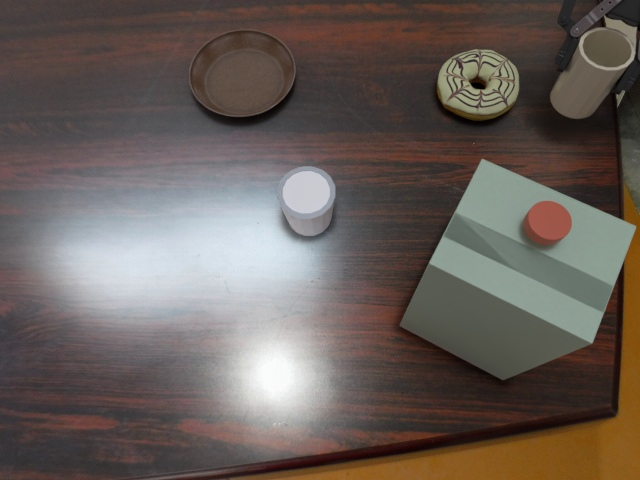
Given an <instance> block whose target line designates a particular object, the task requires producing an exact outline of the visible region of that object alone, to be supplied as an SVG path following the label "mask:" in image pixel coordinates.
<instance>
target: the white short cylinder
mask: <svg viewBox="0 0 640 480" xmlns="http://www.w3.org/2000/svg"><path fill="white" fill-rule="evenodd" d="M276 189H277V190H276V191H277V192H276V193H277V195H276V198H277V201H278V203H279V205H280V207H281V210H282V212H283V214H284V216H285V218H286V220H287V222H288V224H289V226H290V229H292V230H293V231H294V232H295V233H296V234H298V235H301V236H304V237H315V236H317V235H320V234H323V232H324V231H326V229H328V228H329V226H330V223H331V222H332V218H333V213H334V212H333V211H334V207H335V201H336V185H335V182H334V181H333V179H332V177H331V176H330V175H329V174H328V172H326V171H324V170H323V169H321V168H318V167H315V166H313V165H310V166H309V165H307V166H306V165H305V166H298V167H296V168H293V169H291V170H289V171H288V172H287V173H286V174H285V175H283V177H281V179H280V182H279V184H278V186H277V188H276Z"/></svg>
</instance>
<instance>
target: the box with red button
mask: <svg viewBox="0 0 640 480" xmlns="http://www.w3.org/2000/svg"><path fill="white" fill-rule="evenodd" d="M541 201H553V202H556V203H559V204H560V205H562V206H563V207H564V208H565V209H566V210H567V211H568V212H569V214H570V216H571V219H572V227H571V230H570V232H569V233H568V234H567V235H566V236H565V237H564V238H563V239H562V240H561V241H560V242H558V243H556V244H554V245H541V244H538V243H536V242H534V241H533V240H532V239H530V238H529V237H528V235H527V234H526V232H525V230H524V225H523V222H524V218H525V216H526V214H527V213H528V211H529V210H530V209H531V208H532V207H533V206H534V205H535V204H536V203H538V202H541ZM637 228H638V227H637V225H635V224H632V223H630V222H628V221H626V220H623V219H621V218H619V217H616V216H614V215H612V214H610V213H607V212H605V211H603V210H602V209H601V210H600V209H598V208H596V207H594V206H592V205H590V204H587V203H584V202H582V201H579V200H578V199H576V198H573V197H571V196H568V195H566V194H564V193H562V192H559V191H558V190H555V189H552V188H550V187H548V186H547V185H546V186H545V185H543V184H541V183H539V182H537V181H535V180H532V179H530V178H528V177H525V176H523V175H520V174H518V173H516V172H514V171H512V170H509V169H507V168H505V167H502V166H500V165H497V164H496V163H493V162H491V161H489V160H486V159H484V158H481V160H480V162H479V164H478V165H477V167H476V170H475V171H474V173H473V175H472V177H471V179H470V181H469V183H468V185H467V187H466V189H465V191H464V193H463V195H462V197H461V199H460V201H459V203H458V205H457V207H456V208H455V211H454V212H453V215H452V217H451V218H450V220H449V222H448V224H447V226H446V229H445V230H444V232H443V234H442V236H441V238H440V239H439V242H438V244H437V246H436V248H435V250H434V251H433V254H432V256H431V258H430V260H429V262H428V264H427V266H426V268H425V270H424V272H423V274H422V276H421V278H420V280H419V282H418V285H417V288H416V289H415V291H414V293H413V296H412V297H411V299H410V302H409V304H408V306H407V308H406V310H405V312H404V314H403V316H402V318H401V321H400V323H399V327H400V328H403V329H404V330H406V331H408V332H410V333H411V334H413V335H415V336H418V337H419V338H421V339H423V340H425V341H427V342H429V343H431V344H433V345H435V346H436V347H439V348H440V349H443V350H444V351H446V352H447V353H450V354H452V355H454V356H456V357H458V358H459V359H461V360H464V361H465V362H467V363H469V364H471V365H473V366H474V367H477V368H479V369H480V370H482V371H484V372H486V373H488V374H490V375H492V376H494V377H496V378H498V379H500V380H501V381H505V380H508V379H510V378H512V377H515V376H517V375H520V374H522V373H524V372H527V371H529V370H531V369H534V368H536V367H540V366H542V365H544V364H546V363H549V362H552V361H553V360H556V359H558V358H561V357H563V356H566V355H568V354H570V353H573V352H576V351H578V350H580V349H583V348H585V347H587V346H590V345H593V344H594V341H595V338H596V335H597V332H598V330H599V327H600V325H601V322H602V319H603V317H604V315H605V312H606V309H607V306H608V304H609V301H610V298H611V296H612V293H613V291H614V288H615V285H616V282H617V280H618V278H619V275H620V272H621V270H622V267H623V264H624V261H625V259H626V256H627V253H628V251H629V248H630V245H631V243H632V240H633V238H634V235H635V233H636V229H637Z"/></svg>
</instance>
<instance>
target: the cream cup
mask: <svg viewBox="0 0 640 480" xmlns="http://www.w3.org/2000/svg"><path fill="white" fill-rule="evenodd" d="M578 40H579V43H578V45H577V47H576V49H575V50H574V52H573V54H572V56H571V58H570V60H569V62H568V64H567V66H566V67H565V69H564V71H563V73H561V72H559V73H560V74H559V75H558V77H557V79H556V81H555V82H554V84H553V85H552V88H551V91H550V94H549V98H550V99H549V100H550V103H551V105H552V107H553V108H554V110H555V111H557V113H559V114H560V115H562V116H564V117H567V118H569V119H575V120H580V119H585V118H588V117H590V116H592V115H593V114H594V113H596V111H597V110H598V109H599V107H600V106H601V105H602V104H603V102H604V101H605V100H606V98H607V97H608V96H609V94H610V93H611V92H612V90H613V88H614V86H615V84H616V83H617V82H618V80H619V79H620V78H621V76H622V75H623V73H624V72H625V71H626V69H627V68H628V67H629V65H630V64H631V63H632V61H633V60H634V56H635V49H636V47H635V44H634V42H633V40H632V39H631V38H630V37H629V36H628V35H627V34H625V33H624V32H622V31H621V30H620V29H616V28H612V27H608V26H601V27H600V26H599V27H594V28H591V29H588V30H586V31H585V32H584V33H583V34H582V35H581V36H580V37H579V39H578Z"/></svg>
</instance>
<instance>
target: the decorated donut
mask: <svg viewBox="0 0 640 480" xmlns="http://www.w3.org/2000/svg"><path fill="white" fill-rule="evenodd" d="M519 75H520V74H519V72H518V69H517V67H516V65H514V64H513V62H512V61H511V60H510V59H509V58H507V57H505V56H503V55H502V54H499V53H498V52H496V51H494V50H492V49H478V48H476V49H475V48H474V49H472V50H468V51H464V52H461V53H458V54H455V55H453V56H452V57H450V58H449V59H448V60H446V61H445V62H444V63H443V64H442V66H441V68H440V70H439V72H438V77H437V81H436V94H437V97H438V100H439V101H440V103H441V105H442V106H443V108H444V109H445V110H447V111H449V112H451V113H453V114H454V115H456V116H459V117H461V118H464V119H467V120H471V121H474V122H475V121H478V122H479V121H480V122H482V121H489V120H493V119H495V118H498V117H500V116H501V115H503V114H505V113H506V112H507V111H509V110H510V109H511V108H513V106H514V105H515V104H516V102H517V98H518V97H519V92H520V76H519ZM472 83H475V84H476V83H479V84H481V85H482V86H484V89H479V88H475V87H473V86H472Z"/></svg>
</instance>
